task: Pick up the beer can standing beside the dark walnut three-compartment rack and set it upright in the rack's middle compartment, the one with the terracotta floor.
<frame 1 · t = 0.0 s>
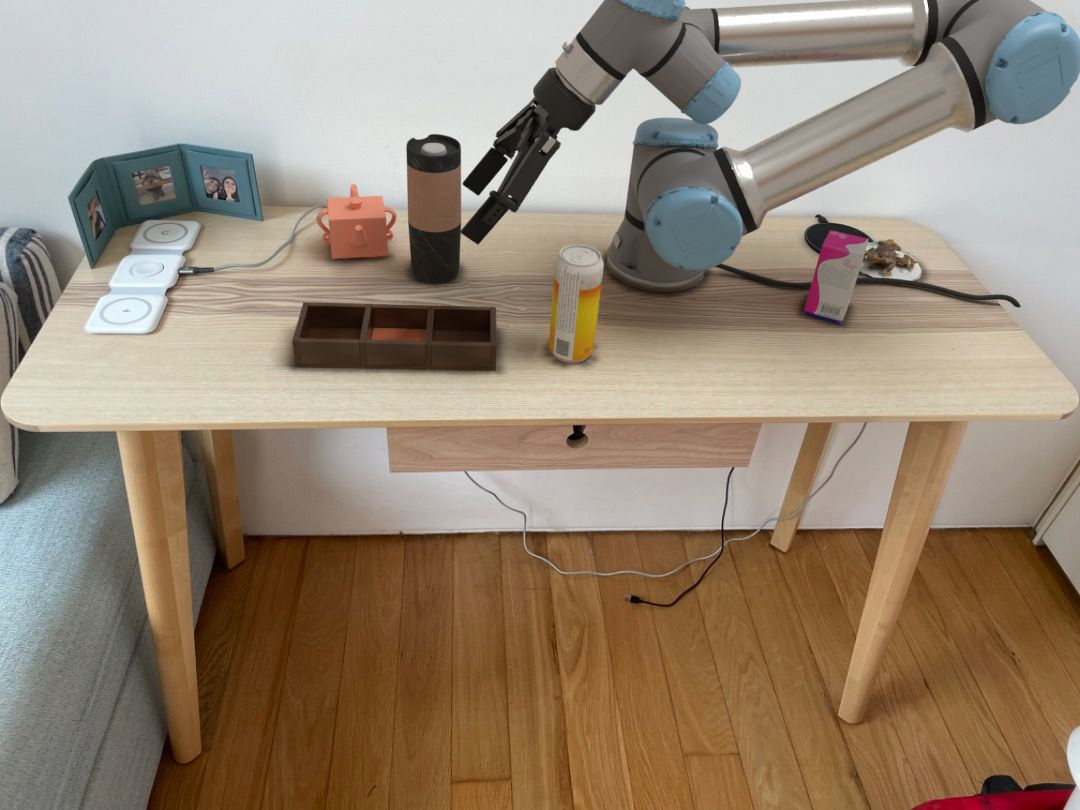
hand: (469, 212, 119), 15 cm above the table, tool tilted 35°, fingers open, 13 cm apart
beer can: (570, 353, 122), on the table
plate of food: (884, 265, 146), on the table
teapot: (359, 250, 140), on the table
supplement box: (825, 311, 134), on the table
rack: (399, 348, 120), on the table
travel mug: (435, 272, 136), on the table
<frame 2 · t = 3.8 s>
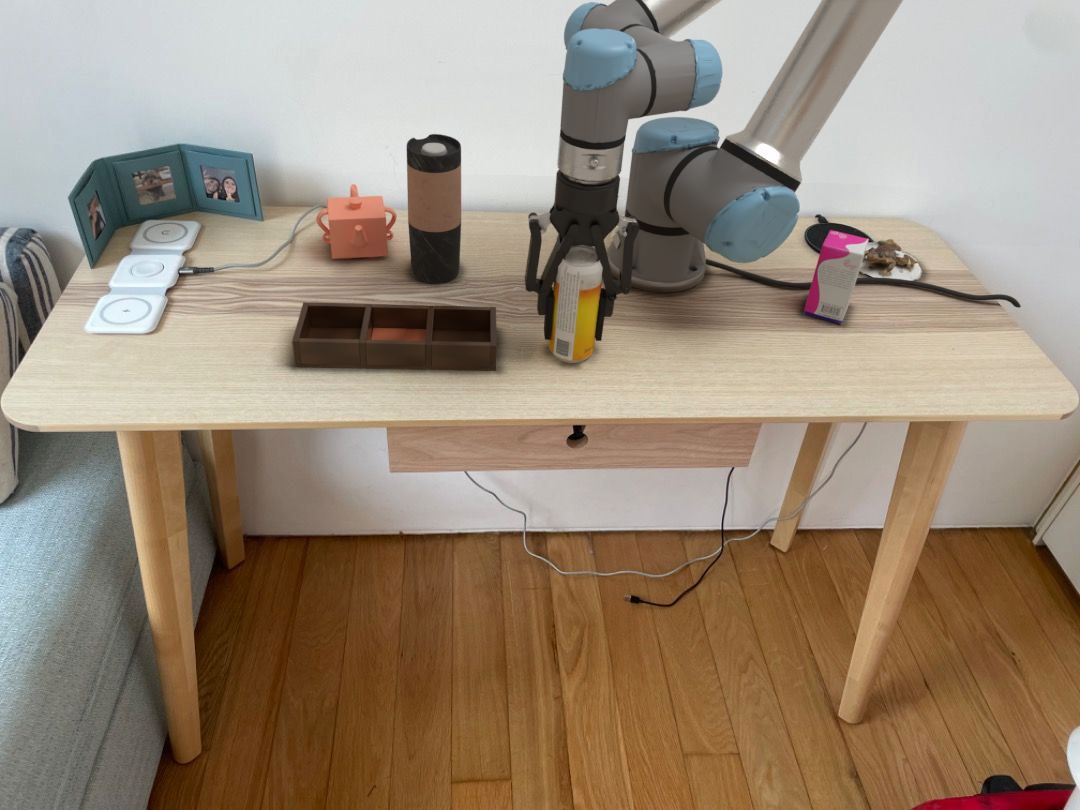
hand: (572, 334, 120), 3 cm above the table, tool pointing down, fingers closed on beer can, 6 cm apart
beer can: (570, 353, 122), on the table, touching gripper
everything else where it was.
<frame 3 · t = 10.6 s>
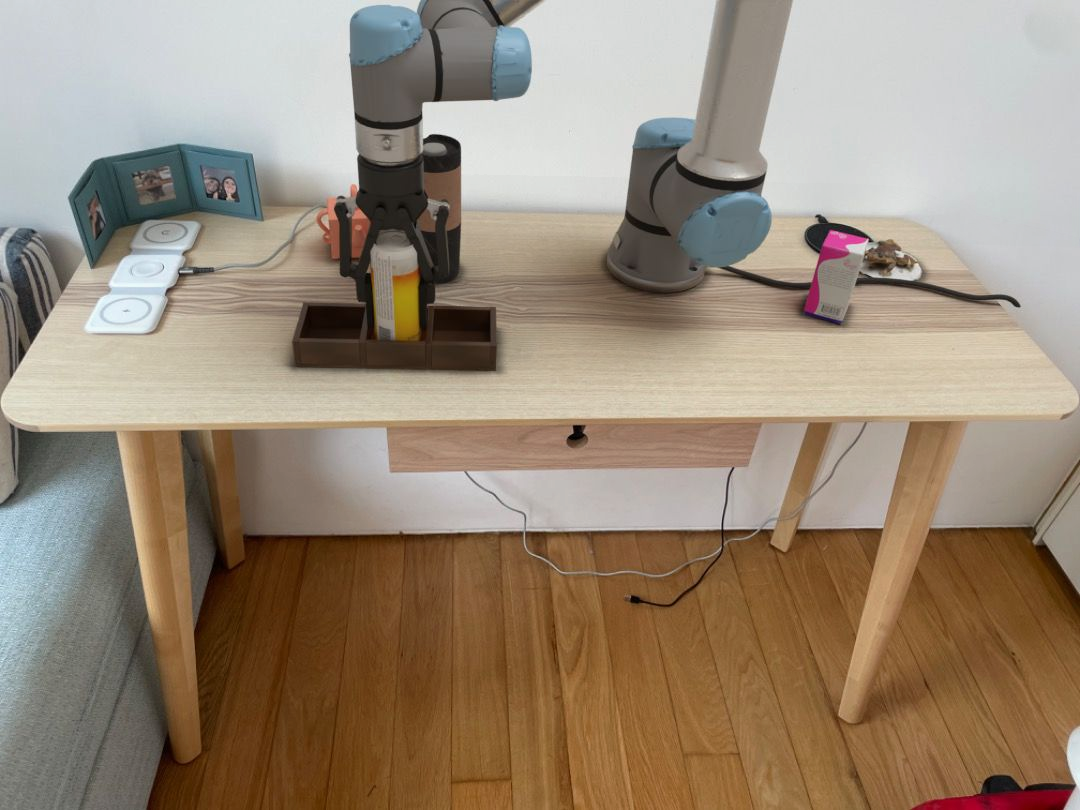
hand: (397, 321, 118), 4 cm above the table, tool pointing down, fingers closed on beer can, 6 cm apart
beer can: (398, 341, 120), point 1 cm above the table, touching gripper
everything else where it was.
when the fingers open (6 cm above the table, at t = 17.8 s): beer can drops 2 cm, resting on rack.
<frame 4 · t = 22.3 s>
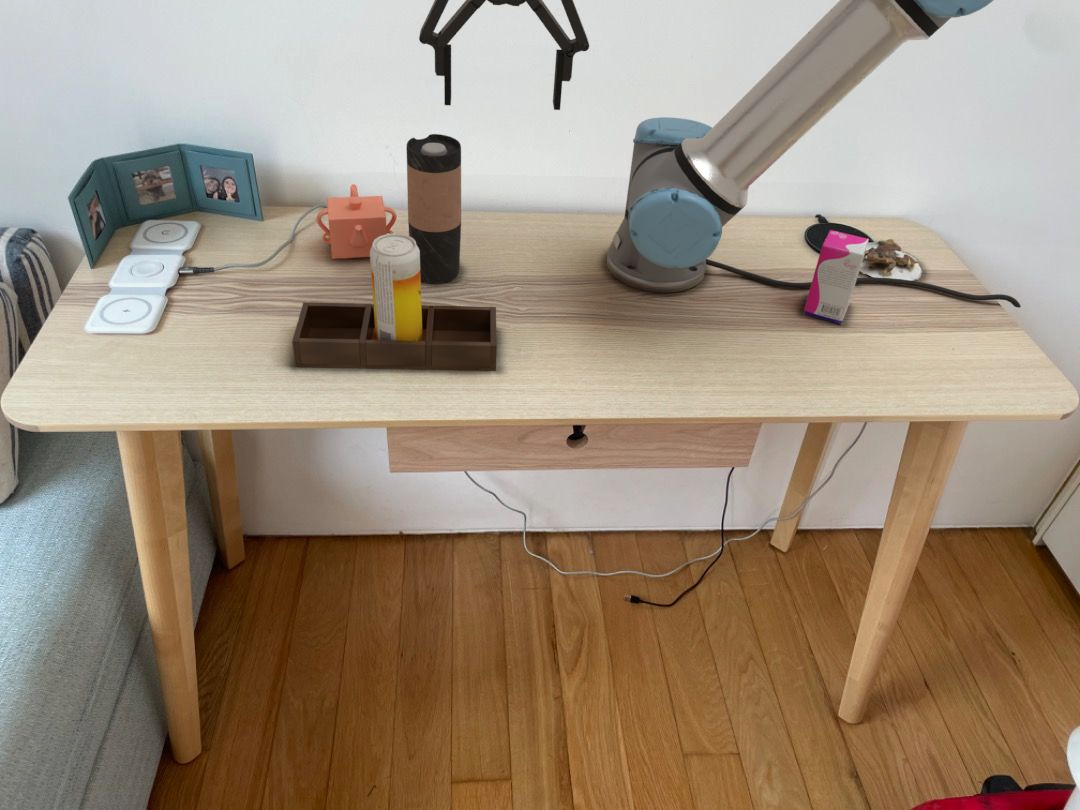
hand: (502, 104, 113), 29 cm above the table, tool pointing down, fingers open, 13 cm apart
beer can: (399, 345, 120), point 1 cm above the table, touching rack
everything else where it was.
at the end: beer can 0.1 cm off-centre in the rack, point 0.5 cm above the rack's base; beer can tilted 0°; the gripper is holding nothing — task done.
